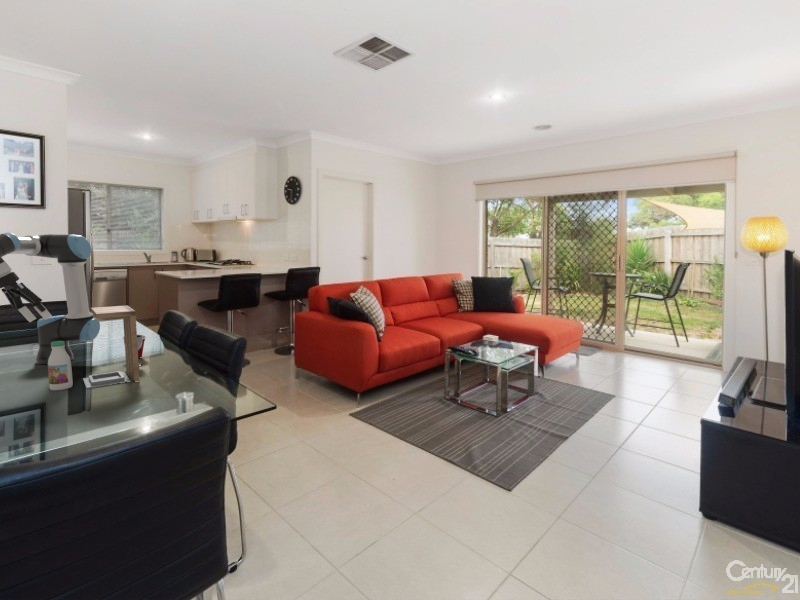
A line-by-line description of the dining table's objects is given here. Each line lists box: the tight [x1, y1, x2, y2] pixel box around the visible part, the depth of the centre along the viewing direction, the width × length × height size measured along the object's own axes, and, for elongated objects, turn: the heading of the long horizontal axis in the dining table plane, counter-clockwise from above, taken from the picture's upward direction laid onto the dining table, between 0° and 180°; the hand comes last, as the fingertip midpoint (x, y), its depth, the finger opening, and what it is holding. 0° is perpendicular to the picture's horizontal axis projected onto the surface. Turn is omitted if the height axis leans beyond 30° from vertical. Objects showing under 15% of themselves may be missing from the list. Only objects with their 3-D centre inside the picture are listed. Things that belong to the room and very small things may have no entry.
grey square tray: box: [82, 370, 132, 390], centre depth 193 cm, size 16×16×2 cm
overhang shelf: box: [90, 305, 140, 382], centre depth 193 cm, size 20×14×32 cm
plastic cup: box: [122, 334, 147, 359], centre depth 229 cm, size 11×11×12 cm
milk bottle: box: [47, 341, 74, 391], centre depth 181 cm, size 8×8×20 cm
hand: (40, 319), depth 179 cm, fingers open, 13 cm apart
